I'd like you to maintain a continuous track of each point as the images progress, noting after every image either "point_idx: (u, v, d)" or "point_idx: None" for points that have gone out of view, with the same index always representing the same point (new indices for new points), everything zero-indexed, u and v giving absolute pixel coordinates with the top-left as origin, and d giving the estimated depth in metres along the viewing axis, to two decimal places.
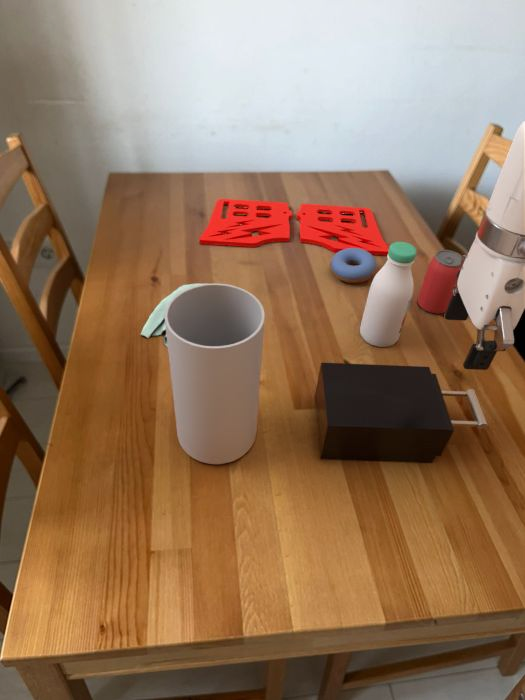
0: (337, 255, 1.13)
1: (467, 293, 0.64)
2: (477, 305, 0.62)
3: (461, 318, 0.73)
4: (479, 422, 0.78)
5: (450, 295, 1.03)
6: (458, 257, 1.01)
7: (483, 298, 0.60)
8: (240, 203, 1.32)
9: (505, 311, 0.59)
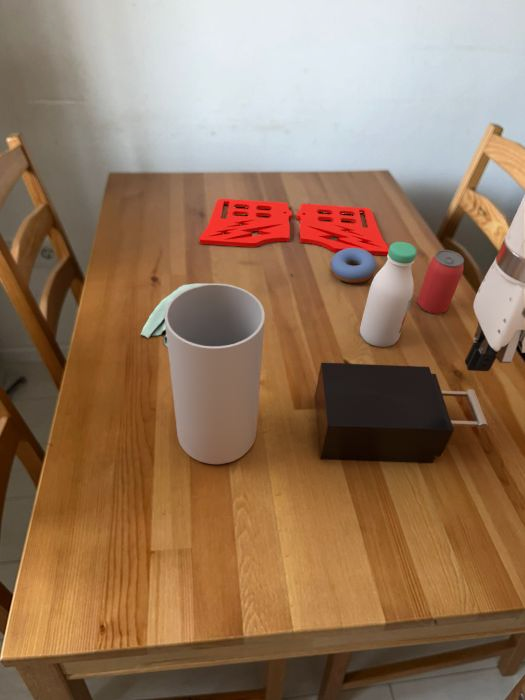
0: (337, 255, 1.13)
1: (484, 315, 0.67)
2: (494, 327, 0.64)
3: None
4: (479, 422, 0.78)
5: (450, 295, 1.03)
6: (458, 257, 1.01)
7: (500, 321, 0.63)
8: (240, 203, 1.32)
9: (515, 338, 0.64)
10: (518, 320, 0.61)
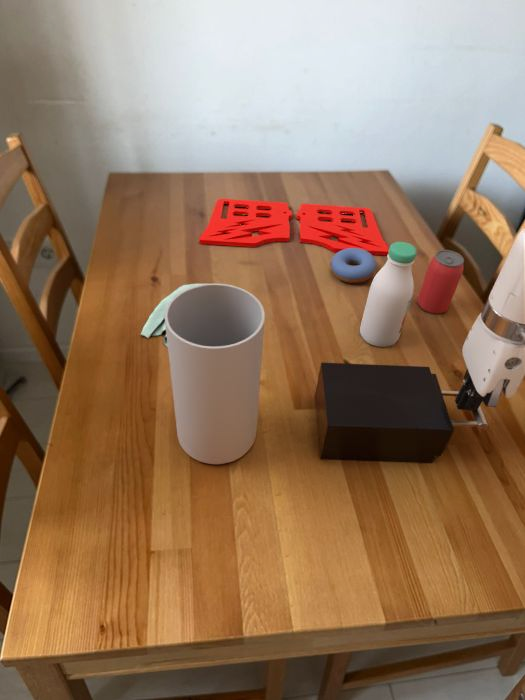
0: (337, 255, 1.13)
1: (471, 362, 0.73)
2: (480, 375, 0.71)
3: None
4: (479, 422, 0.78)
5: (450, 295, 1.03)
6: (458, 257, 1.01)
7: (485, 371, 0.69)
8: (240, 203, 1.32)
9: (499, 385, 0.70)
10: (501, 371, 0.67)
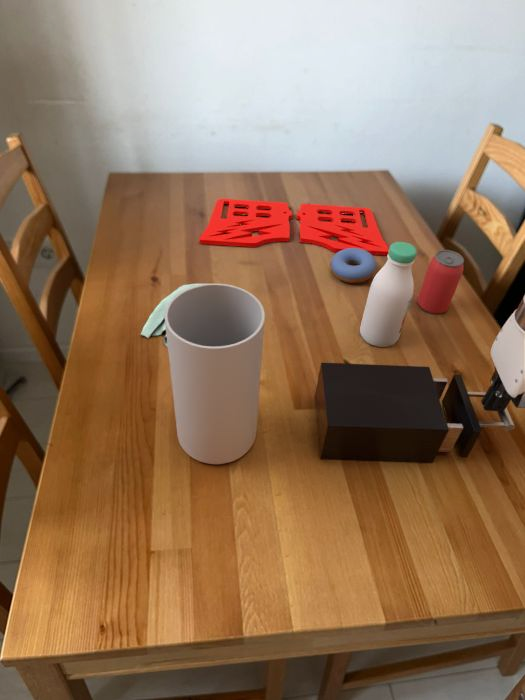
0: (337, 255, 1.13)
1: (501, 363, 0.73)
2: (511, 376, 0.71)
3: None
4: (506, 423, 0.78)
5: (450, 295, 1.03)
6: (458, 257, 1.01)
7: (517, 372, 0.69)
8: (240, 203, 1.32)
9: None
10: None
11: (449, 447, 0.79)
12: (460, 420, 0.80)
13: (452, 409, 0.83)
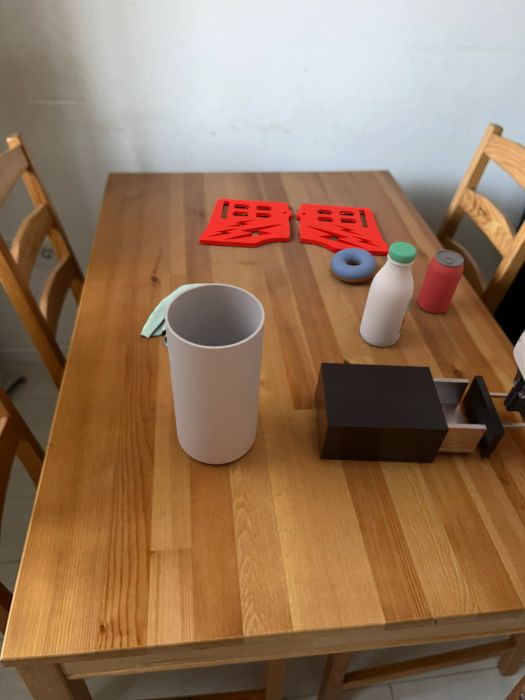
0: (337, 255, 1.13)
1: None
2: None
3: None
4: None
5: (450, 295, 1.03)
6: (458, 257, 1.01)
7: None
8: (240, 203, 1.32)
9: None
10: None
11: (471, 448, 0.79)
12: (482, 421, 0.80)
13: (473, 410, 0.83)
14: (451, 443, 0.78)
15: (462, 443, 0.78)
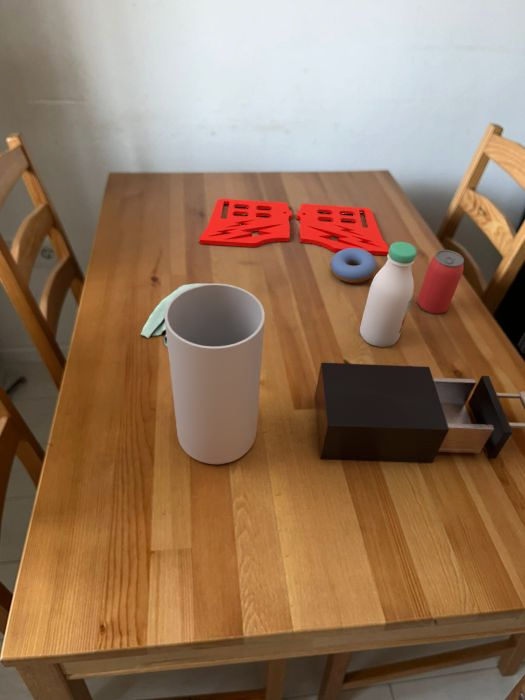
0: (337, 255, 1.13)
1: None
2: None
3: None
4: None
5: (450, 295, 1.03)
6: (458, 257, 1.01)
7: None
8: (240, 203, 1.32)
9: None
10: None
11: (478, 448, 0.79)
12: (489, 421, 0.80)
13: (479, 410, 0.83)
14: (458, 443, 0.78)
15: (469, 443, 0.78)
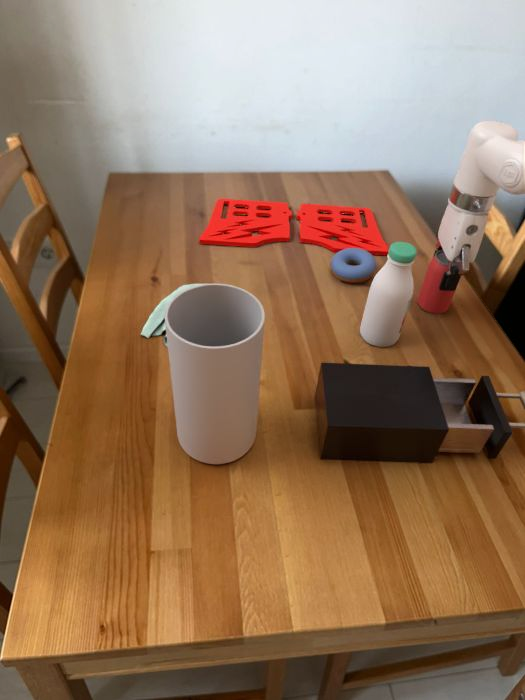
0: (337, 255, 1.13)
1: (443, 239, 0.97)
2: (449, 245, 0.94)
3: None
4: None
5: (450, 295, 1.03)
6: (458, 257, 1.01)
7: (452, 239, 0.93)
8: (240, 203, 1.32)
9: (466, 249, 0.92)
10: (463, 237, 0.91)
11: (478, 448, 0.79)
12: (489, 421, 0.80)
13: (479, 410, 0.83)
14: (458, 443, 0.78)
15: (469, 443, 0.78)
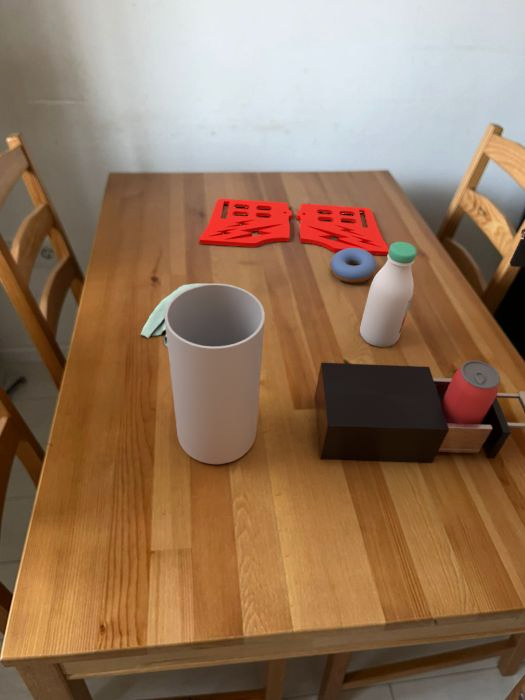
0: (337, 255, 1.13)
1: None
2: None
3: None
4: None
5: (480, 419, 0.78)
6: (492, 372, 0.75)
7: None
8: (240, 203, 1.32)
9: None
10: None
11: (477, 448, 0.79)
12: (487, 421, 0.80)
13: None
14: (456, 443, 0.78)
15: (468, 443, 0.78)
